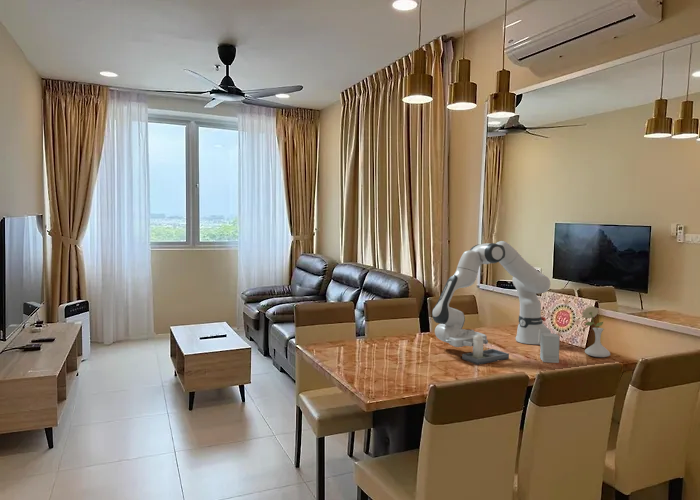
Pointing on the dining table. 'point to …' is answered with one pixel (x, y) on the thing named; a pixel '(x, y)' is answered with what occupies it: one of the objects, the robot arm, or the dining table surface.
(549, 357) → the supplement box
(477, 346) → the white round-topped cylinder
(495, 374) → the dining table surface
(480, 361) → the caddy
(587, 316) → the flower in vase
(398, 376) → the dining table surface
